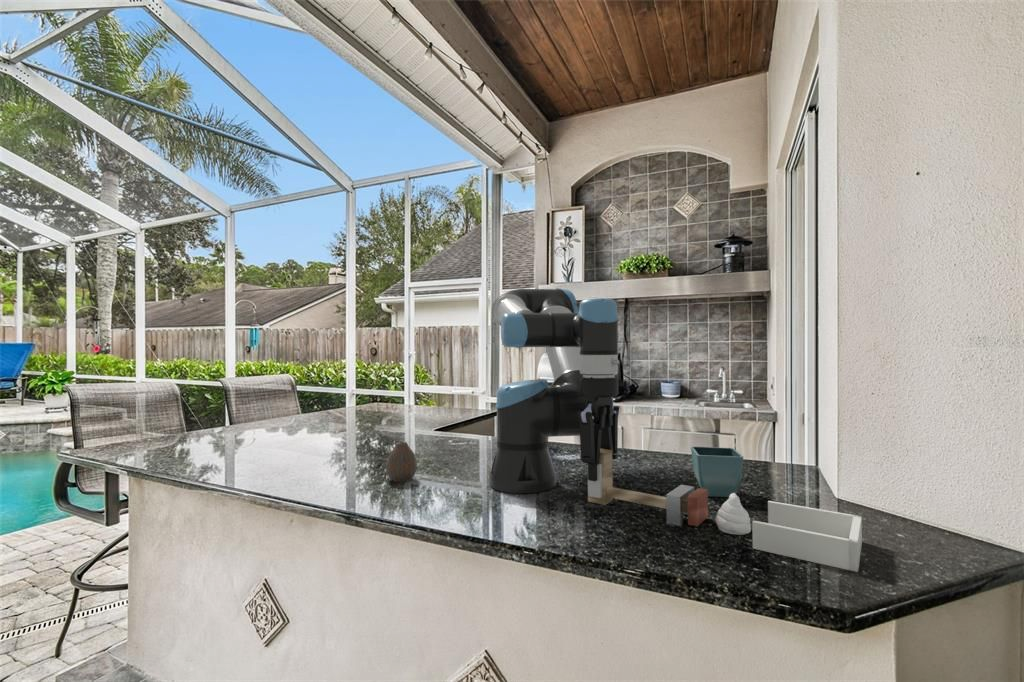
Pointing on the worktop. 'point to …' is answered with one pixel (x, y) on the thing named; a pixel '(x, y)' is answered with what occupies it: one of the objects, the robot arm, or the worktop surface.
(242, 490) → the worktop surface
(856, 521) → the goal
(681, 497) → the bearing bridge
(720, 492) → the flower pot
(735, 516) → the whipped cream swirl
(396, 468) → the brown egg shape
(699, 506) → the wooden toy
